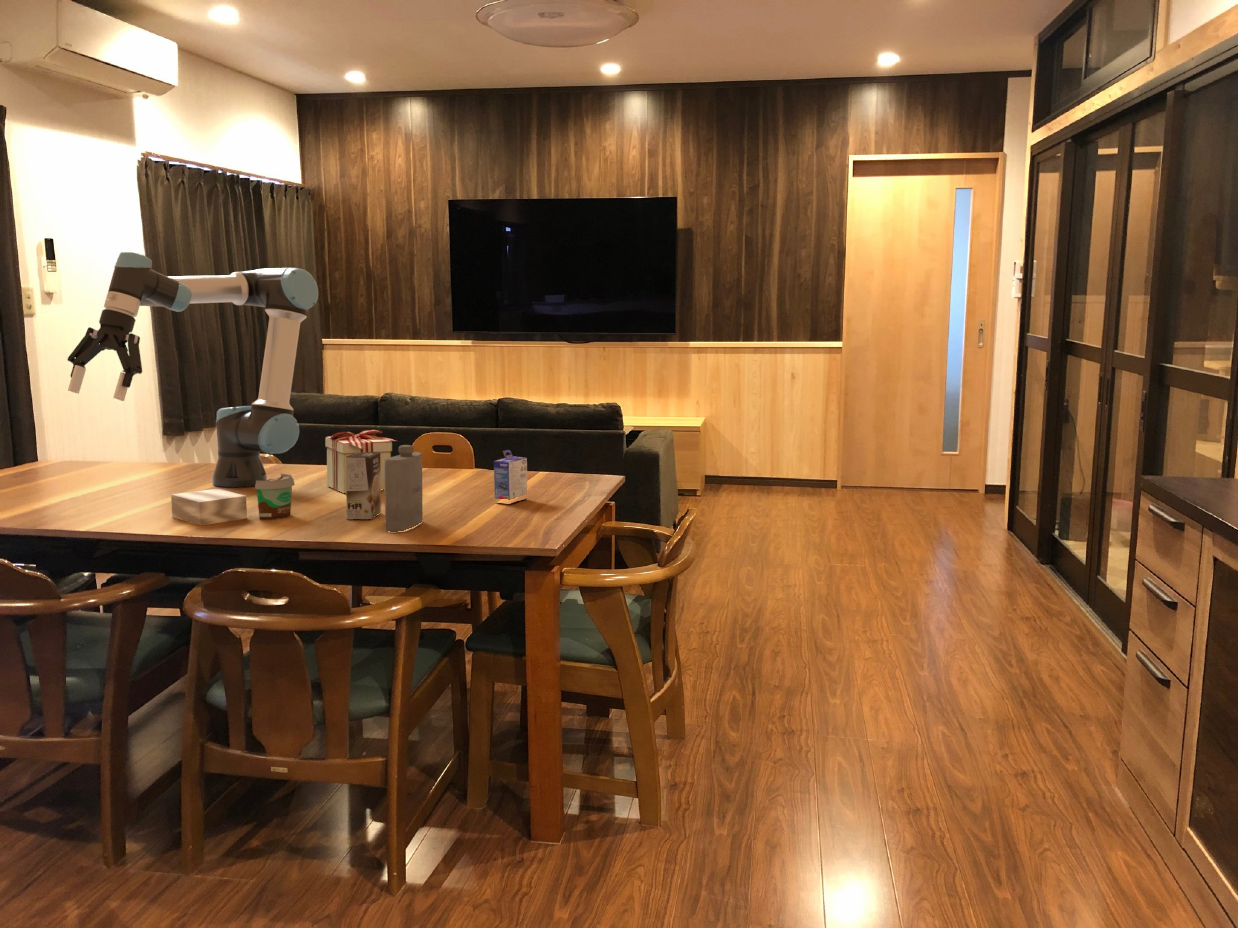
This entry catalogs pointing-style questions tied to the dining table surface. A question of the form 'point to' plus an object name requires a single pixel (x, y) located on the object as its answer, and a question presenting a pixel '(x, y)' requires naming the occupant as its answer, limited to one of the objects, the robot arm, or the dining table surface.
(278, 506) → the food container
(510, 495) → the ink cartridge box
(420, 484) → the flask
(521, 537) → the dining table surface
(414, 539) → the dining table surface
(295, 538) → the dining table surface
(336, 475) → the gift box
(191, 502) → the birch block
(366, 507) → the coffee box
